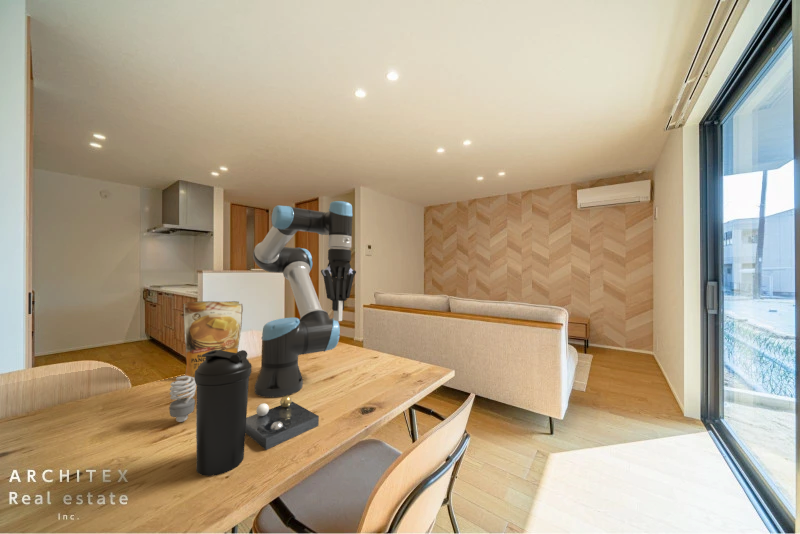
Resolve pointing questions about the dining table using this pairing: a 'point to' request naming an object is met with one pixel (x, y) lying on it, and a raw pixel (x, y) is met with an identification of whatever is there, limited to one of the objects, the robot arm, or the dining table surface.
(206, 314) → the pancake mix bag
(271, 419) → the plate
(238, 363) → the water bottle
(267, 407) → the white plastic ball
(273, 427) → the steel ball
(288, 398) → the brass ball
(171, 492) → the dining table surface
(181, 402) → the light bulb
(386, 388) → the dining table surface
